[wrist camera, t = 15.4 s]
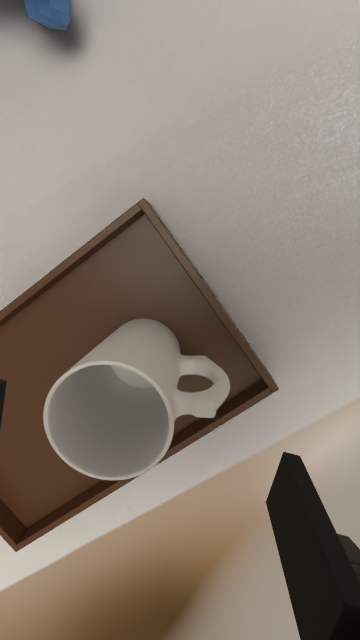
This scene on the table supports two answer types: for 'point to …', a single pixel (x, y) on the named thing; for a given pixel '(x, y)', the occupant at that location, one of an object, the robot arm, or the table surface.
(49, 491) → the tray
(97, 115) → the table surface
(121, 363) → the mug
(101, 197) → the table surface
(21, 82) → the table surface
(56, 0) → the blue sphere cluster
